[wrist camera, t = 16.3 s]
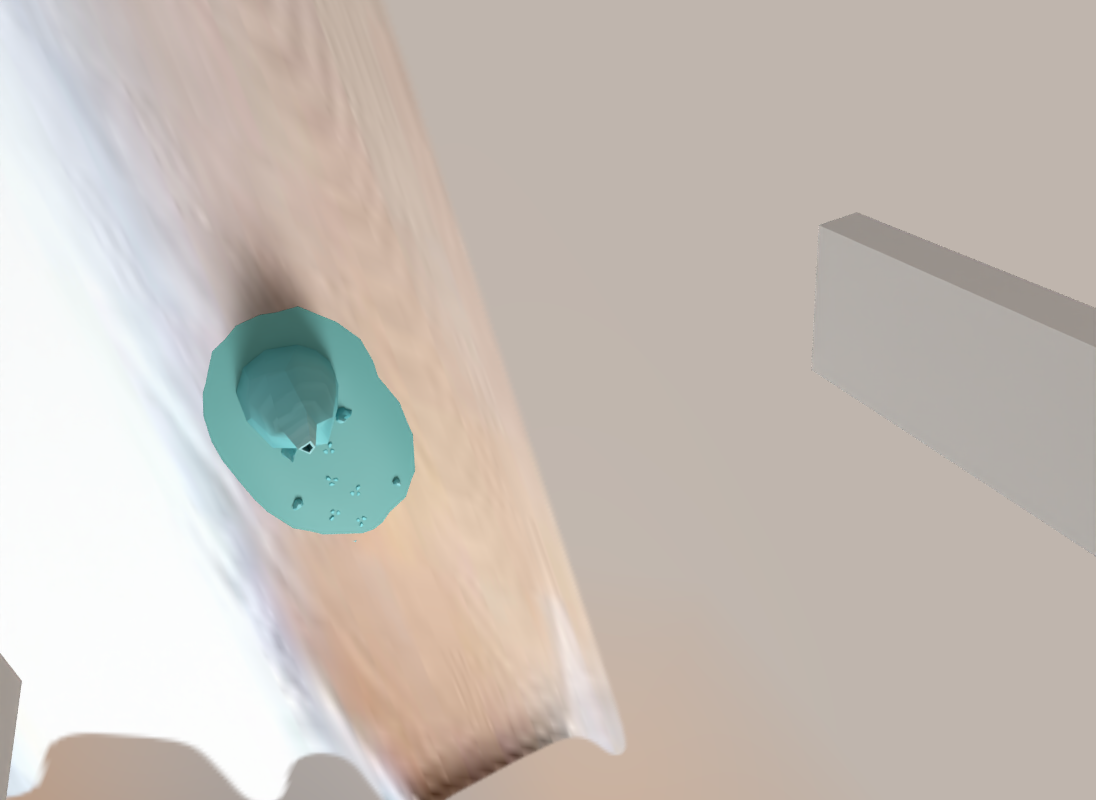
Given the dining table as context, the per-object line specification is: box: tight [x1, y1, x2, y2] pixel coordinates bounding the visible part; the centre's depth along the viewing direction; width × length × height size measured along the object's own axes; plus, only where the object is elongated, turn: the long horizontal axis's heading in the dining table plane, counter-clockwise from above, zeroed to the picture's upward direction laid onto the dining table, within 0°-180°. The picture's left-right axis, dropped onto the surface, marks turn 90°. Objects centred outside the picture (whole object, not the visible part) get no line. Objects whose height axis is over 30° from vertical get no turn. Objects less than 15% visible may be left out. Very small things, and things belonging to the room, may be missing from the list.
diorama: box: [203, 307, 415, 542], centre depth 48 cm, size 12×20×9 cm, turn 18°
